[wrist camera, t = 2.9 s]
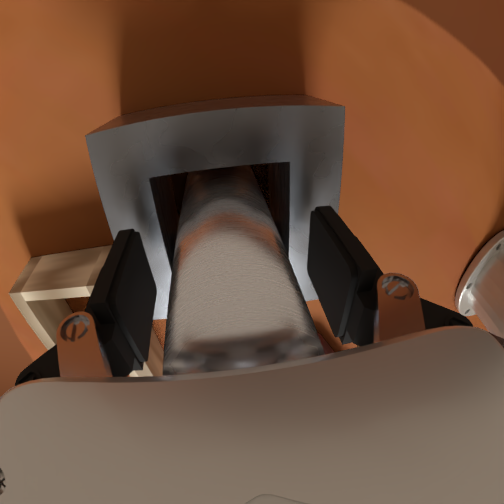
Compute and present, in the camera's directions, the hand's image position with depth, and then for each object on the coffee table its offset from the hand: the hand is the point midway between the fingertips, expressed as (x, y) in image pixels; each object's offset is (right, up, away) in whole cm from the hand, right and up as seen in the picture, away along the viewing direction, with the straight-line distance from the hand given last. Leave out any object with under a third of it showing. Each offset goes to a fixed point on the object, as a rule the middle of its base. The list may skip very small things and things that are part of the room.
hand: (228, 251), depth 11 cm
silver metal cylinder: (-1, +4, +5) cm, 7 cm away
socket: (-1, +4, +5) cm, 7 cm away
